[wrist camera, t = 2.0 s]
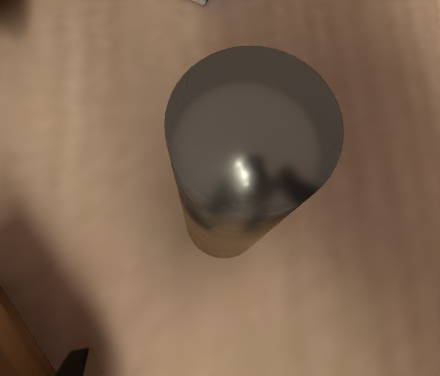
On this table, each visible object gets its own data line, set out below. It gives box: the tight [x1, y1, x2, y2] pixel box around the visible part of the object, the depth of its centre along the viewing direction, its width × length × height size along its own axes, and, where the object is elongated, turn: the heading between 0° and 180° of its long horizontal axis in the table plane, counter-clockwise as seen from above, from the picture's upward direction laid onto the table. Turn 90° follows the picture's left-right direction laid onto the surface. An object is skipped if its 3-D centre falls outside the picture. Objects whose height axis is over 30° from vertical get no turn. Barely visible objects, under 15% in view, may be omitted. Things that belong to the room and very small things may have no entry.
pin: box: [165, 46, 344, 258], centre depth 14 cm, size 4×4×12 cm
